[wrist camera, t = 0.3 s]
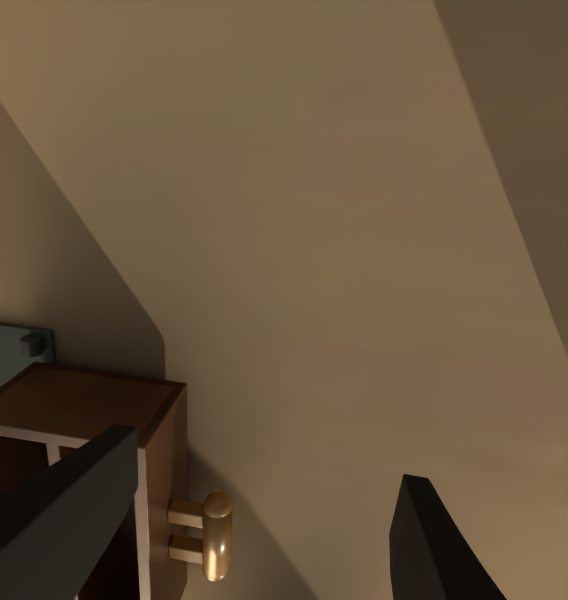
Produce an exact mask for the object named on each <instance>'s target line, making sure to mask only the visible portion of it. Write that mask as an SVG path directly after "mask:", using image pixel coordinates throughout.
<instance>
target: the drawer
mask: <svg viewBox="0 0 568 600" xmlns="http://www.w3.org/2000/svg"><path fill="white" fill-rule="evenodd" d="M114 424H121V425H127V426H133V427H137V447H138V484H139V486H138V488H137V491H136V493H135V495H134V497H133V500H132V502H131V504H130V506H129V508H128V510H127V512H126V515H125V517H124V519H123V521H122V523H121V524H120V526H119V528H118V529H117V531H116V533H115V534H114V536H113V538H112V539H111V541H110V543H109V544H108V546H107V548H106V549H105V551H104V552H103V554H102V556H101V557H100V559H99V561H98V562H97V564H96V565H95V567H94V569H93V570H92V572H91V573H90V575H89V577H88V578H87V580H86V582H85V583H84V585H83V586H82V588H81V590H80V591H79V593H78V595H77V596H76V598H75V599H74V600H180V599H181V596H182V594H183V591H184V588H185V585H186V583H187V561H188V562H194V563H199V564H202V569H203V573H204V575H205V577H206V578H207V579H209V580H210V581H220V580H222V579H223V578H224V577H225V576H226V575H227V573H228V571H229V567H230V550H231V528H232V506H233V505H232V500H231V498H230V496H229V495H228V494H227V493H226V492H224V491H220V490H217V491H213V492H212V493H210V494H209V495H208V496H207V497H206V499H205V501H204V504H201V503H195V502H189V501H187V384H186V383H181V382H174V381H167V380H160V379H153V378H146V377H139V376H132V375H125V374H118V373H111V372H105V371H98V370H91V369H84V368H77V367H70V366H63V365H56V364H49V363H42V362H36V361H35V362H33V363H32V364H30V365H29V366H28V367H26V368H25V369H24V370H22V371H21V372H19V373H18V374H17V375H15V376H14V377H13V378H11V379H10V380H9V381H7V382H6V383H5V384H3V385H2V386H0V495H1V494H3V493H5V492H7V491H8V490H10V489H12V488H14V487H15V486H17V485H19V484H20V483H22V482H24V481H26V480H27V479H29V478H31V477H32V476H34V475H36V474H38V473H39V472H41V471H43V470H44V469H46V468H48V467H49V466H51V465H53V464H54V463H56V462H57V461H59V460H60V459H62V458H63V457H65V456H67V455H68V454H70V453H71V452H73V451H74V450H76V449H78V448H79V447H81V446H82V445H84V444H85V443H87V442H88V441H90V440H91V439H93V438H94V437H96V436H97V435H99V434H100V433H102V432H103V431H105V430H106V429H108V428H110V427H111V426H113V425H114ZM187 526H192V527H197V528H203V539H197V538H192V537H187Z"/></svg>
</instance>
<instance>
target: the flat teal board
mask: <svg viewBox="0 0 568 600" xmlns="http://www.w3.org/2000/svg"><path fill="white" fill-rule="evenodd" d="M35 361H36V362H42V363H49V364H56V357H55V349H54V340H53V332H52V330H46V329H39V328H32V327H25V326H17V325H10V324H3V323H0V386H2V385H3V384H5V383H6V382H7V381H9V380H10V379H11V378H13V377H14V376H15V375H17V374H18V373H19V372H21V371H22V370H24V369H25V368H26V367H28V366H29V365H30V364H32V363H33V362H35Z"/></svg>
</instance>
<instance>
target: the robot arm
mask: <svg viewBox="0 0 568 600" xmlns="http://www.w3.org/2000/svg"><path fill="white" fill-rule="evenodd" d="M138 486H139V484H138V447H137V427H133V426H127V425H121V424H114V425H113V426H111V427H110V428H108V429H106V430H105V431H103V432H102V433H100V434H99V435H97V436H96V437H94V438H93V439H91V440H90V441H88V442H87V443H85V444H84V445H82V446H81V447H79V448H78V449H76V450H74V451H73V452H71V453H70V454H68V455H67V456H65V457H63V458H62V459H60V460H59V461H57V462H56V463H54V464H53V465H51V466H49V467H48V468H46V469H44V470H43V471H41V472H39V473H38V474H36V475H34V476H32V477H31V478H29V479H27V480H26V481H24V482H22V483H20V484H19V485H17V486H15V487H14V488H12V489H10V490H8V491H7V492H5V493H3V494H1V495H0V600H74V599H75V598H76V596H77V595H78V593H79V591H80V590H81V588H82V586H83V585H84V583H85V582H86V580H87V578H88V577H89V575H90V573H91V572H92V570H93V569H94V567H95V565H96V564H97V562H98V561H99V559H100V557H101V556H102V554H103V552H104V551H105V549H106V548H107V546H108V544H109V543H110V541H111V539H112V538H113V536H114V534H115V533H116V531H117V529H118V528H119V526H120V524H121V523H122V521H123V519H124V517H125V515H126V512H127V510H128V508H129V506H130V504H131V502H132V500H133V497H134V495H135V493H136V491H137V488H138ZM389 541H390V575H391V583H392V591H393V599H394V600H507V599H506V598H505V597H504V595H503V594H502V593H501V591H500V590H499V589H498V587H497V586H496V584H495V583H494V582H493V580H492V579H491V577H490V576H489V575H488V573H487V572H486V570H485V569H484V568H483V566H482V565H481V563H480V562H479V560H478V559H477V557H476V556H475V554H474V553H473V551H472V550H471V548H470V547H469V545H468V543H467V542H466V540H465V539H464V537H463V536H462V534H461V533H460V531H459V529H458V528H457V526H456V525H455V523H454V521H453V520H452V518H451V516H450V515H449V513H448V511H447V510H446V508H445V506H444V504H443V503H442V501H441V499H440V497H439V496H438V494H437V492H436V490H435V489H434V487H433V485H432V483H431V482H430V480H429V479H428V478H424V477H419V476H413V475H407V474H404V475H403V479H402V483H401V487H400V491H399V495H398V500H397V504H396V508H395V512H394V516H393V520H392V524H391V528H390V533H389Z"/></svg>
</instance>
